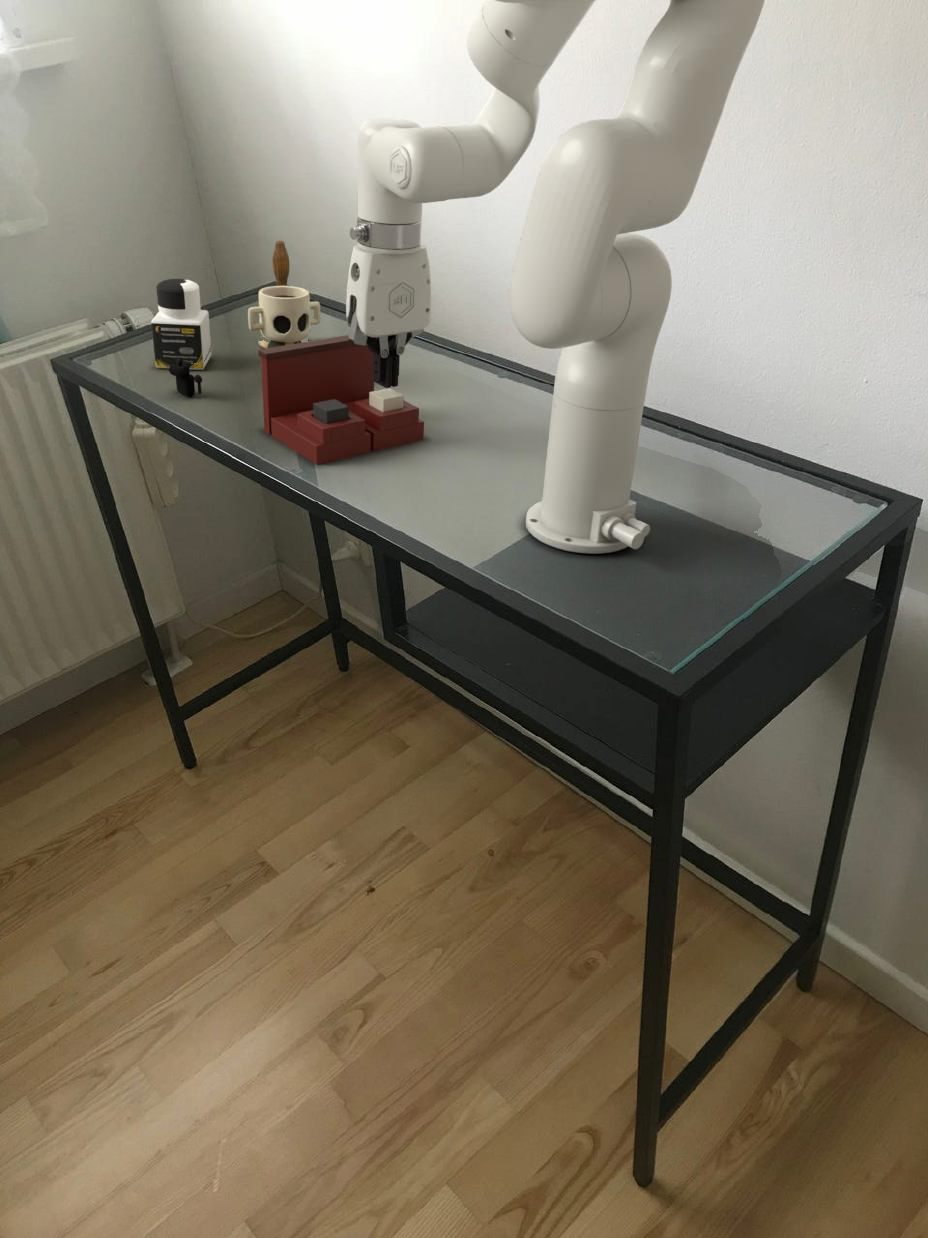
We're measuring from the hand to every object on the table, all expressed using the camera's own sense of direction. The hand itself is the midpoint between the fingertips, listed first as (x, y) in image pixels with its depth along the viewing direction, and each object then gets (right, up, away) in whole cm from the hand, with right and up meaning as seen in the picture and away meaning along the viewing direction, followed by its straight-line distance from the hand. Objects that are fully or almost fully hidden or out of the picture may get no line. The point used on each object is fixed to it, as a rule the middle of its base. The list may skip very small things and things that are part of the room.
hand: (385, 383), depth 133 cm
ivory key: (0, -3, +1) cm, 3 cm away
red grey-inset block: (-8, -8, +1) cm, 11 cm away
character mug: (-16, +5, +20) cm, 26 cm away
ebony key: (-7, -5, -3) cm, 9 cm away
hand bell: (-19, +14, +36) cm, 43 cm away
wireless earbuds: (-29, +1, +13) cm, 32 cm away
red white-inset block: (-2, -5, +5) cm, 8 cm away
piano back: (-9, -3, +7) cm, 12 cm away
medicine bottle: (-32, +9, +25) cm, 42 cm away
